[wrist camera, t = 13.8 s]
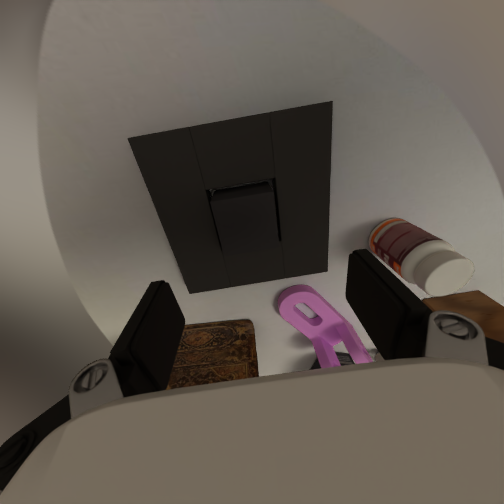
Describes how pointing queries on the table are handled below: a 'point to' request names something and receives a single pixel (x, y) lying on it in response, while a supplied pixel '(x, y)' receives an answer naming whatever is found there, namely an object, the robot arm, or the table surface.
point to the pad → (245, 218)
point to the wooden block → (473, 311)
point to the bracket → (321, 325)
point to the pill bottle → (420, 257)
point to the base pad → (239, 172)
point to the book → (215, 354)
